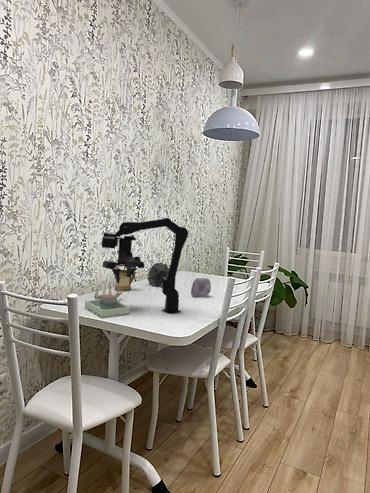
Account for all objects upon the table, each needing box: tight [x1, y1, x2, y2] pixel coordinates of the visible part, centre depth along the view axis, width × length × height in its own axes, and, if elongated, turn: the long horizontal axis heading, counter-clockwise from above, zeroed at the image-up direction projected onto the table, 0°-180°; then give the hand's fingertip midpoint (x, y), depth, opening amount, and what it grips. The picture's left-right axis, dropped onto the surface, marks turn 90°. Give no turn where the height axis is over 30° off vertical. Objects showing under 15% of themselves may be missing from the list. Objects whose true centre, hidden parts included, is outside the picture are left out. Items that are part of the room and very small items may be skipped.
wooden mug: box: [114, 269, 136, 292], centre depth 218 cm, size 9×14×18 cm, turn 84°
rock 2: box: [190, 277, 212, 298], centre depth 213 cm, size 10×6×10 cm, turn 118°
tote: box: [84, 299, 131, 319], centre depth 171 cm, size 18×13×3 cm
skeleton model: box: [94, 285, 123, 300], centre depth 195 cm, size 24×13×5 cm, turn 15°
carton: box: [115, 276, 130, 286], centre depth 176 cm, size 4×4×4 cm
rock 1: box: [147, 262, 170, 287], centre depth 237 cm, size 16×14×15 cm
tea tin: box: [100, 294, 118, 310], centre depth 171 cm, size 6×6×6 cm
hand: (122, 283), depth 176 cm, fingers closed on carton, 4 cm apart
